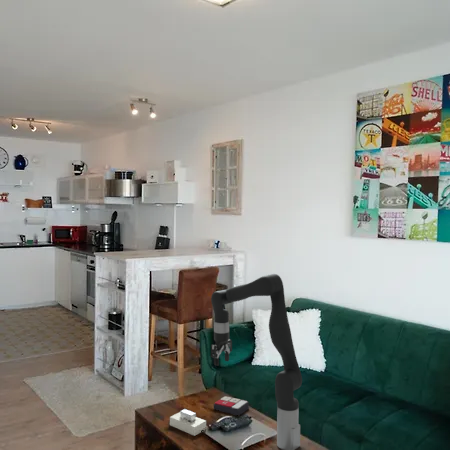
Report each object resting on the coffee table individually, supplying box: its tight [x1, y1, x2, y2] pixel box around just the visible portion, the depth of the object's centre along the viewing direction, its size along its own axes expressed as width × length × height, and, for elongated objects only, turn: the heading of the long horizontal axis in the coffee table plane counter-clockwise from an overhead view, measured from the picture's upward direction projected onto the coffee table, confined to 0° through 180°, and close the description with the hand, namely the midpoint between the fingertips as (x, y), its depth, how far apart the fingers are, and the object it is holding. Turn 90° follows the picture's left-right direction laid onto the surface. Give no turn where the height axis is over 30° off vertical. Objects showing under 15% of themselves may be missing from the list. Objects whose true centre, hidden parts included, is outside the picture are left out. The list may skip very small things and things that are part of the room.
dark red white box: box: [213, 395, 250, 416], centre depth 237 cm, size 11×4×15 cm
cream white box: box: [169, 411, 207, 436], centre depth 217 cm, size 16×8×4 cm, turn 51°
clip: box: [179, 408, 197, 423], centre depth 217 cm, size 7×3×7 cm, turn 51°
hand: (221, 363), depth 227 cm, fingers open, 8 cm apart
